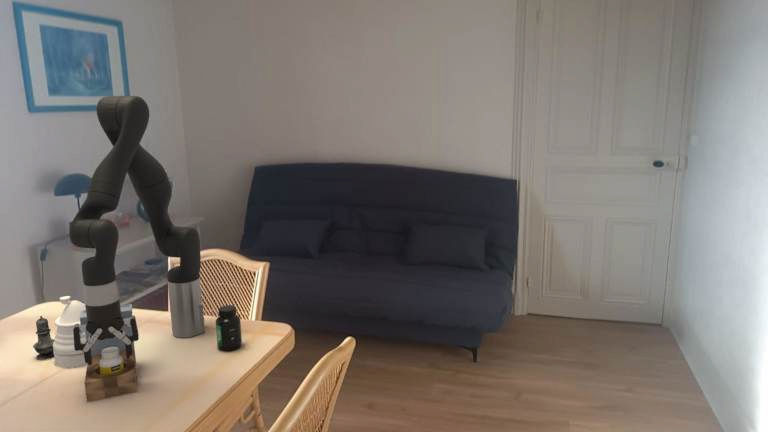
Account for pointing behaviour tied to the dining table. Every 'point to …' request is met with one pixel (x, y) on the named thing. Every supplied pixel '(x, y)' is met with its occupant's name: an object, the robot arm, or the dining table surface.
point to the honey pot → (68, 335)
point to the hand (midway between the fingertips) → (109, 360)
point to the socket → (110, 379)
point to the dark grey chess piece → (43, 340)
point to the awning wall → (113, 342)
